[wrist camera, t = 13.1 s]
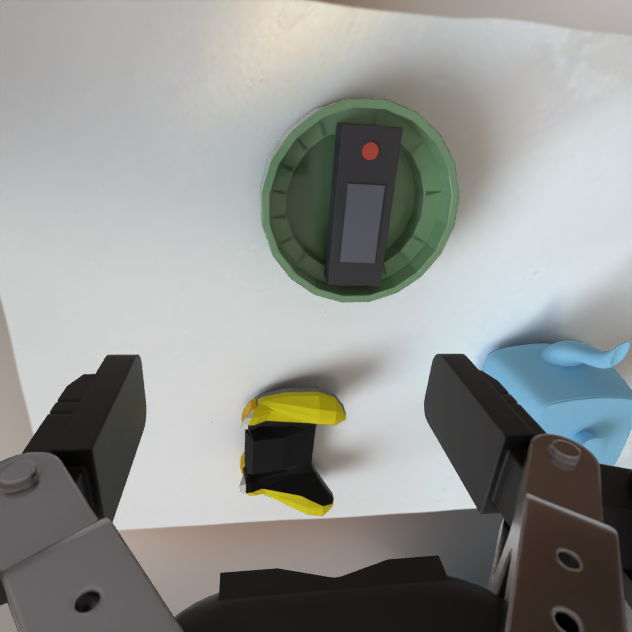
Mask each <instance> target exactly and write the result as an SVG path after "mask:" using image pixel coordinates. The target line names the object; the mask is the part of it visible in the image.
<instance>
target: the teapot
mask: <svg viewBox="0 0 632 632" xmlns="http://www.w3.org/2000/svg"><path fill="white" fill-rule="evenodd" d="M628 350H629V343H628V342H624V343H622V344H620V345H618V346H617V347H615V348H614V349H612V350H610V351H601V350H598V349H596V348H594V347H592V346H590V345H588V344H586V343H583V342H579V341H572V340H568V341H559V342H556V343H554V344H549V343H535V344H525V345H518V346H511V347H506V348H501V349H498V350H495V351H493V352H491V353H490V354H489V355H488V357H487V358H486V361H485V364H484V367H483V370H482V371H483V372H485V373H486V374H488V375H490V376H491V377H493V378H495V379H496V380H498V381H499V382H500V383H501V384H502V386H503V387H504V388H505V389H506V390H507V391H508V392H509V394H511V395H512V396H513V397H514V398H515V400H516V401H517V404H520V405H521V406H522V407H523V408H524V409H525V410H526V411H527V412H528V414H529V415H530V416H531V417H532V418H533V419H534V420H535V421H536V422H537V423H538V424H539V425H540V426H541V427H542V429H543V430H544V431H545V432H546V433H547V434H555V435H560V436H563V437H566V438H569V439H571V440H573V441H576V442H577V443H579V444H581V445H583V446H584V447H585V448H587V449H588V450H589V451H590V452H592V454H593V455H594V456H595V457H596V458H597V460H598V462H599V463H600V464H605V465H610V466H613V465H615V463H616V461H617V459H618V457H619V456H620V454H621V451H622V449H623V447H624V445H625V443H626V441H627V438H628V436H629V433H630V431H631V428H632V390H631V389H630V387H629V386H628V385H627V383H626V382H625V381H624V380H623V378H622V377H621V376H620V375H619V374H618V373H617V372H616V371H615V370H614V369H613V368H612V367H614V366H616V365H617V364H619V363H620V362H621V361H622V360H623V358H624V357H625V356H626V354H627V352H628Z"/></svg>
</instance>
